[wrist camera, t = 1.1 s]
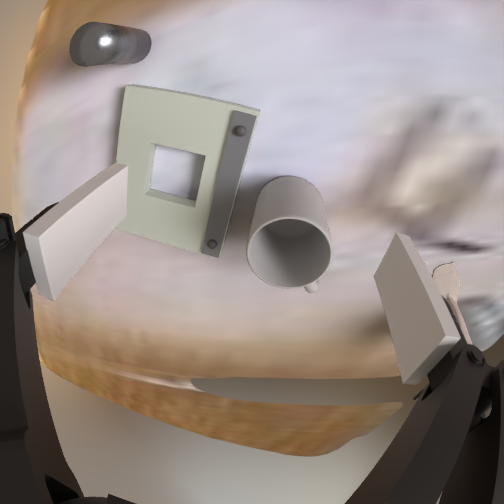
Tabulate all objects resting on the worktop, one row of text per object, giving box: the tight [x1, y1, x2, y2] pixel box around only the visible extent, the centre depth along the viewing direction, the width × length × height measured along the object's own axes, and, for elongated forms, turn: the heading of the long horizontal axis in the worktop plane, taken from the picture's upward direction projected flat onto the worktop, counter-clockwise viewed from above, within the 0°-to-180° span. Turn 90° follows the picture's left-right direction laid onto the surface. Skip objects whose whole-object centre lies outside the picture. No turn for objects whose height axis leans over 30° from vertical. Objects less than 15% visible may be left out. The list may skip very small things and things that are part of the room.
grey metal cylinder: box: [70, 22, 151, 66], centre depth 24 cm, size 5×5×10 cm
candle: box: [432, 262, 473, 345], centre depth 35 cm, size 7×14×20 cm, turn 14°
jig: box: [115, 84, 260, 259], centre depth 36 cm, size 20×16×3 cm
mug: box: [246, 176, 333, 293], centre depth 34 cm, size 12×8×11 cm
